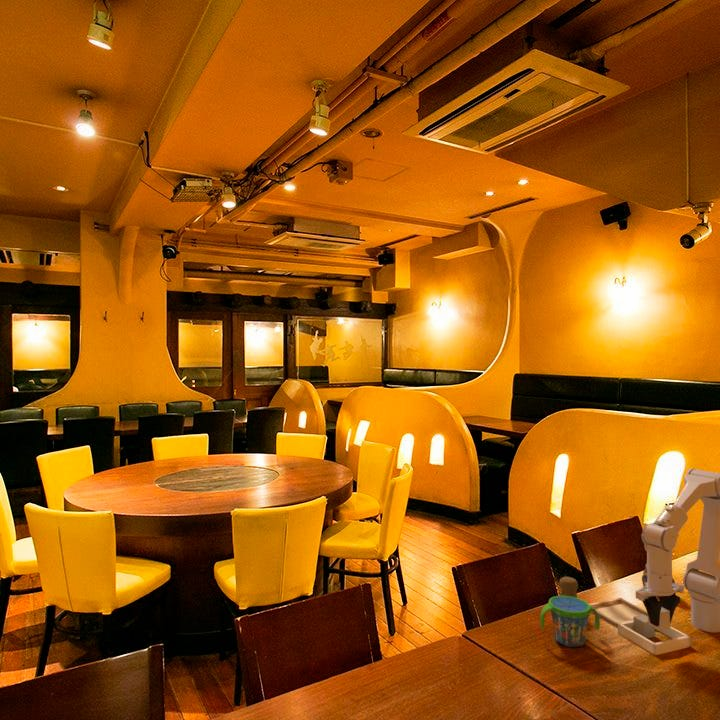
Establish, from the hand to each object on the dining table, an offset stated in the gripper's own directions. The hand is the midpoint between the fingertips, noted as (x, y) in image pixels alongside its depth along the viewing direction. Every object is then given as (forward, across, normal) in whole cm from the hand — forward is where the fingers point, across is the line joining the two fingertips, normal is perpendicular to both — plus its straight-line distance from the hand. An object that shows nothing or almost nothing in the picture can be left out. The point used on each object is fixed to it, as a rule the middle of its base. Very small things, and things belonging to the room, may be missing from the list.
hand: (660, 623), depth 139 cm
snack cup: (+7, +20, -11) cm, 24 cm away
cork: (+7, +10, -23) cm, 26 cm away
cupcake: (+7, -26, -24) cm, 36 cm away
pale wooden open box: (+6, 0, -2) cm, 7 cm away
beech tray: (+6, -3, -17) cm, 18 cm away
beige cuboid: (+1, 0, 0) cm, 1 cm away
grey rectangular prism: (+6, 0, -5) cm, 8 cm away
